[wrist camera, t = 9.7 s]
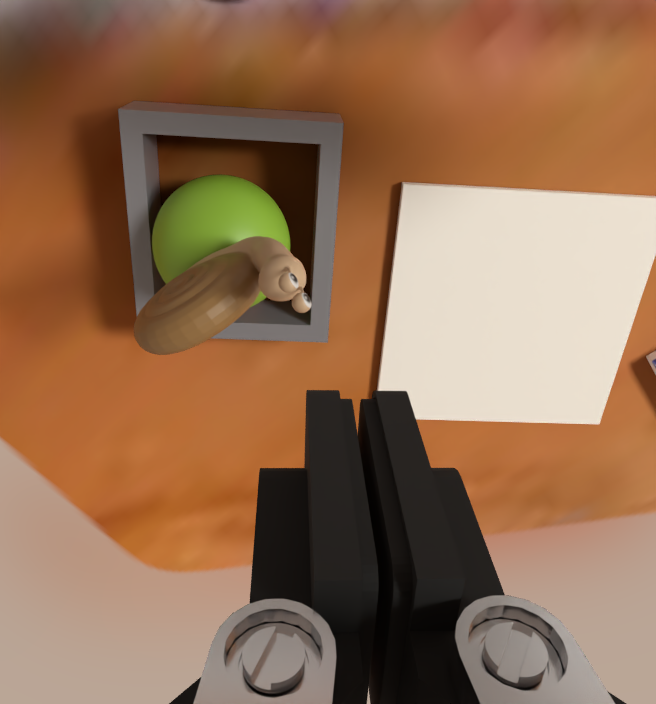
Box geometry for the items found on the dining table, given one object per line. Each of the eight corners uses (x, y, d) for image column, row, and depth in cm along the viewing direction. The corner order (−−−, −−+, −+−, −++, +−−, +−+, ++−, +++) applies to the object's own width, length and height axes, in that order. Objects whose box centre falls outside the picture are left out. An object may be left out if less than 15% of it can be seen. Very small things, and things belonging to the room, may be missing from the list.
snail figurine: (332, 234, 28) (355, 369, 17) (213, 302, 29) (166, 467, 18) (266, 123, 25) (245, 200, 15) (140, 203, 27) (37, 326, 16)
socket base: (111, -190, 20) (-109, -433, 9) (358, -166, 21) (430, -368, 10) (150, 311, 29) (60, 494, 18) (325, 318, 30) (343, 499, 18)
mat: (402, 182, 27) (403, 184, 26) (669, 196, 27) (673, 199, 27) (373, 413, 32) (374, 418, 32) (595, 419, 33) (599, 424, 33)
